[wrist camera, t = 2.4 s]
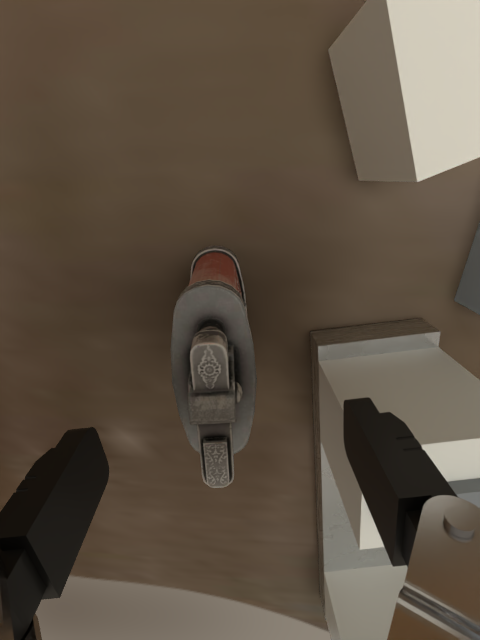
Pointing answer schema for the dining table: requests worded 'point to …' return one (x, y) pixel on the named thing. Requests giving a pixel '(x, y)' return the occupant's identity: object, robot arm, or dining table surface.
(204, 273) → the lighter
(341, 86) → the block
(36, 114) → the dining table surface
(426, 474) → the robot arm
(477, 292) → the block
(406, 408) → the mounted modules
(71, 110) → the dining table surface
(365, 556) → the rail
